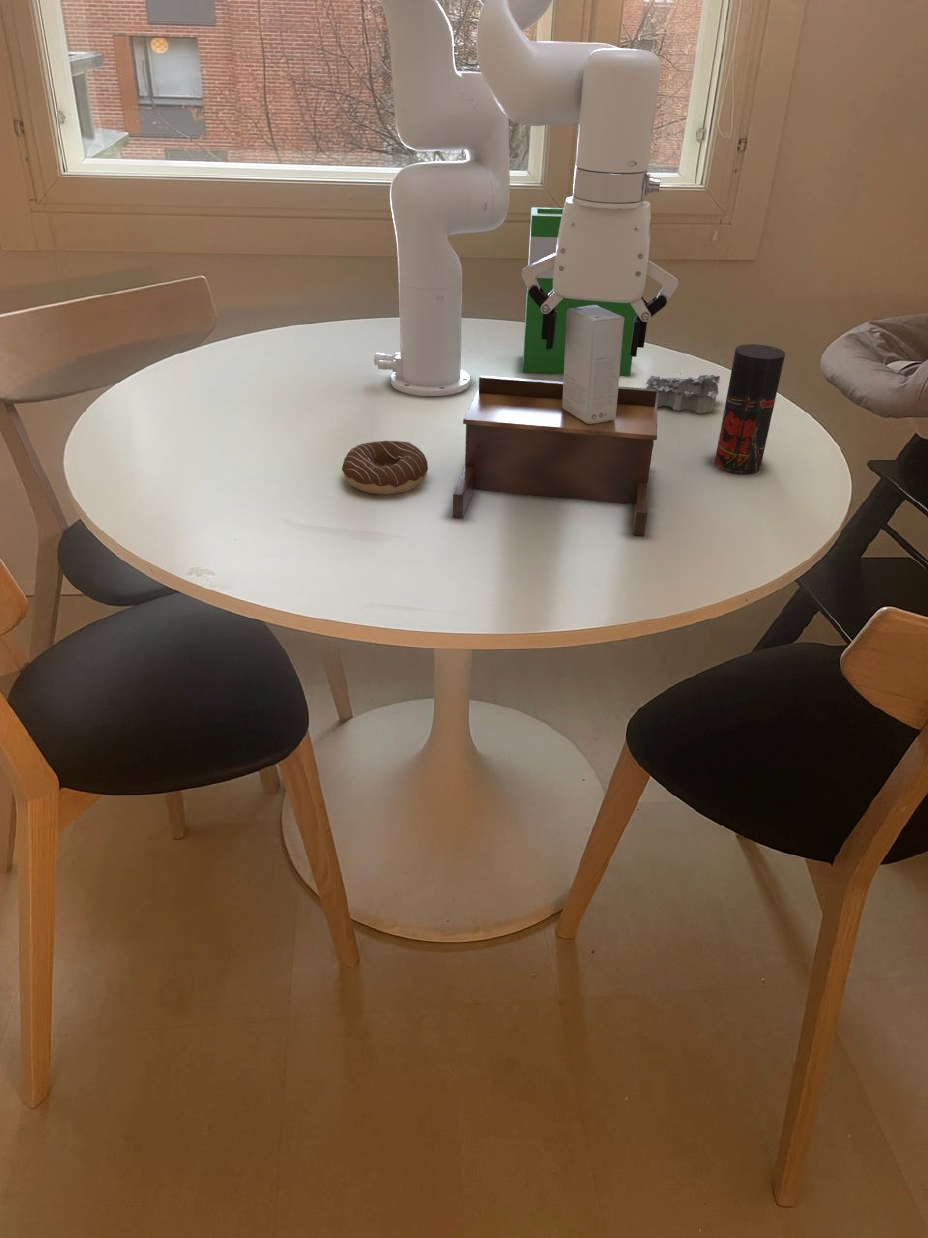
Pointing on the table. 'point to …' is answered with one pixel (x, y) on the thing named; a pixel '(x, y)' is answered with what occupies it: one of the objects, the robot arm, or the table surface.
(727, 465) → the deodorant
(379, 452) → the donut
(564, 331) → the hardback book
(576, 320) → the cosmetic box
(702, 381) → the egg carton
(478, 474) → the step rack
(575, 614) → the table surface
